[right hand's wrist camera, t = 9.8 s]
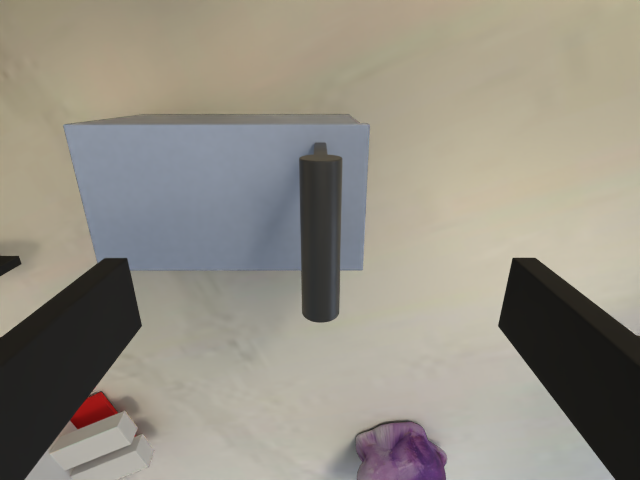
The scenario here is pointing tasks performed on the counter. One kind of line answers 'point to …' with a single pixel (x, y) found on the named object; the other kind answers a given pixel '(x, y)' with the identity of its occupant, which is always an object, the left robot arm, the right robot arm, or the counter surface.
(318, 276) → the door
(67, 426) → the toy
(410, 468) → the figurine
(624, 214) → the counter surface
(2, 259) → the left robot arm
